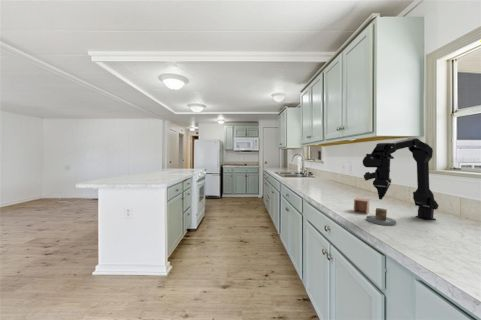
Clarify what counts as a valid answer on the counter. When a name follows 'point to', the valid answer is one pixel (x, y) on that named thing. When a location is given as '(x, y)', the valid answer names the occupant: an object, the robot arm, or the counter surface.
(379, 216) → the walnut block
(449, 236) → the counter surface
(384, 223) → the slate dish
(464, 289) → the counter surface
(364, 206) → the terracotta hood
